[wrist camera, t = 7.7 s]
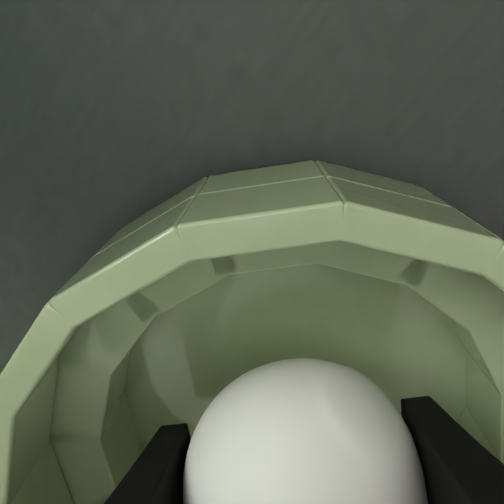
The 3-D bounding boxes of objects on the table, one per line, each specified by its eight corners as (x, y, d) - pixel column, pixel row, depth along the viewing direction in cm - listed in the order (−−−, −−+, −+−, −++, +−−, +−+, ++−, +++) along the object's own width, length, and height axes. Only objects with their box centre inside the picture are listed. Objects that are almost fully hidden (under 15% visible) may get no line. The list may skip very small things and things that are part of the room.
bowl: (606, 229, 11) (816, 318, 7) (423, 575, 15) (484, 764, 11) (103, 102, 10) (-6, 113, 6) (52, 500, 15) (-36, 671, 10)
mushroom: (332, 497, 13) (371, 727, 8) (172, 438, 13) (117, 649, 8) (424, 359, 12) (536, 547, 7) (246, 285, 11) (234, 434, 6)
